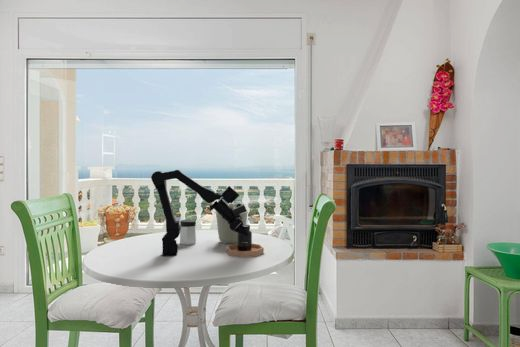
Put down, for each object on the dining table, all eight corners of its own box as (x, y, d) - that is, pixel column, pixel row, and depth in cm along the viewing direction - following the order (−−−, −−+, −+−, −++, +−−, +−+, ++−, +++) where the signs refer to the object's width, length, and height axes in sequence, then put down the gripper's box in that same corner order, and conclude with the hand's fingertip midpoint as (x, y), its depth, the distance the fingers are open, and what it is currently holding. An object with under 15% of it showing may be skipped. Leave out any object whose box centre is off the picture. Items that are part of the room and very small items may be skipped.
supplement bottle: (243, 252, 170) (243, 227, 169) (234, 250, 175) (234, 225, 174) (254, 250, 174) (254, 225, 174) (245, 247, 179) (245, 223, 179)
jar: (183, 245, 189) (182, 222, 188) (177, 242, 195) (177, 220, 195) (199, 243, 194) (199, 221, 193) (193, 240, 200) (192, 218, 200)
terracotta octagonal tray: (230, 257, 165) (230, 252, 165) (224, 249, 181) (224, 244, 181) (266, 255, 169) (266, 250, 169) (257, 247, 185) (257, 242, 185)
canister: (222, 237, 209) (222, 200, 208) (252, 239, 204) (252, 201, 203) (209, 244, 191) (209, 204, 190) (242, 246, 186) (242, 205, 186)
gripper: (237, 200, 164) (261, 224, 166) (236, 196, 183) (258, 218, 184) (219, 218, 164) (244, 242, 165) (220, 212, 182) (242, 234, 184)
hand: (247, 233), depth 175 cm, fingers open, 9 cm apart
